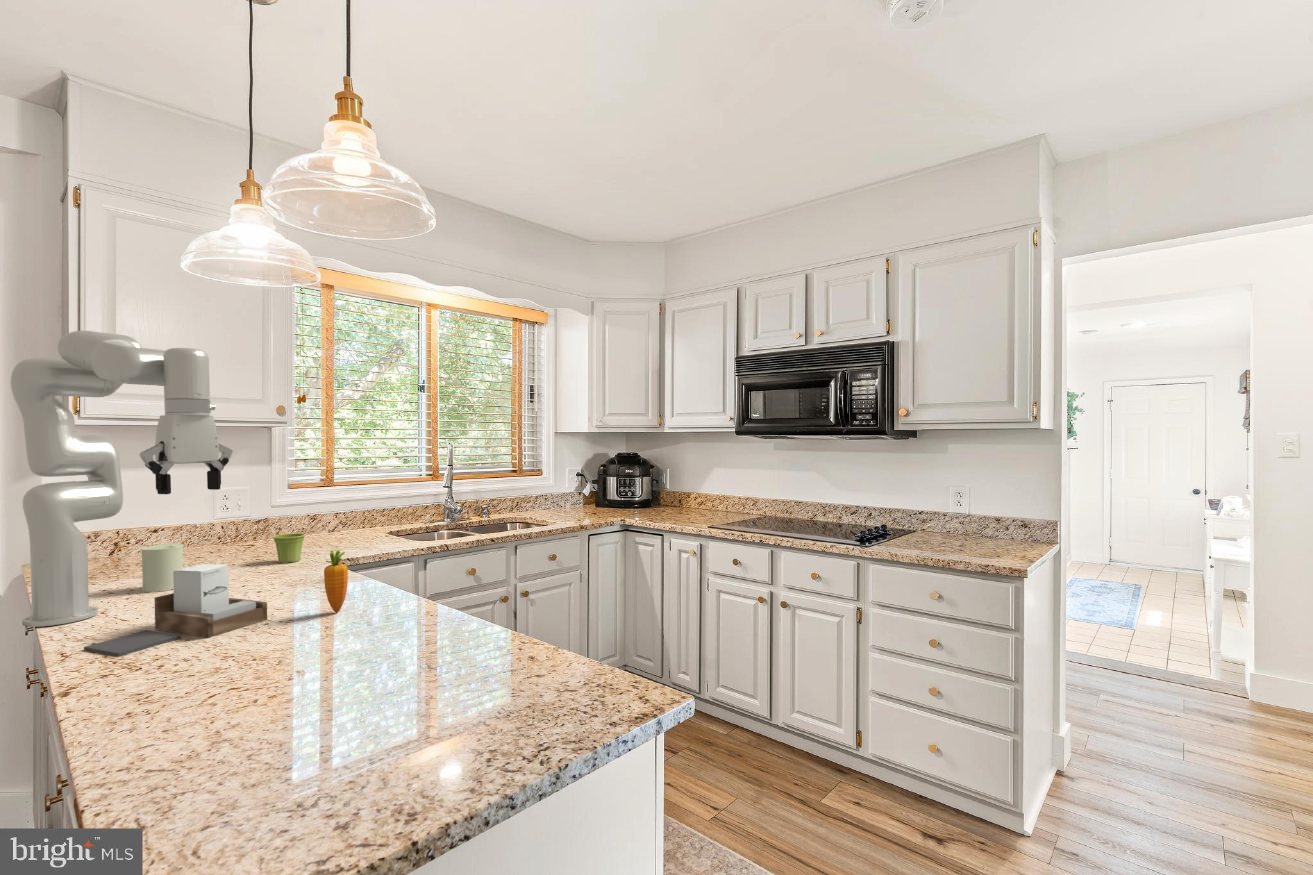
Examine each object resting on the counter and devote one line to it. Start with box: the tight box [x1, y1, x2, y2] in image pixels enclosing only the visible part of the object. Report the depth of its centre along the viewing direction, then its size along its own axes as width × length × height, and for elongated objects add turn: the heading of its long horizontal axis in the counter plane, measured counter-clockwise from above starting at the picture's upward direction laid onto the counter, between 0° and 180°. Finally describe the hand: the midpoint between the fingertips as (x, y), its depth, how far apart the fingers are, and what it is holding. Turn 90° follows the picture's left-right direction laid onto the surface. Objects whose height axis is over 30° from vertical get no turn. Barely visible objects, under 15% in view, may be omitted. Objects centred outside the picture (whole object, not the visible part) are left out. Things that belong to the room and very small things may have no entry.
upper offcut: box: [200, 601, 256, 621], centre depth 136 cm, size 4×10×2 cm, turn 160°
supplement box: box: [173, 563, 230, 615], centre depth 139 cm, size 7×7×13 cm
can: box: [141, 543, 184, 593], centre depth 172 cm, size 9×9×12 cm
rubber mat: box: [83, 629, 182, 657], centre depth 126 cm, size 11×11×1 cm
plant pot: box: [272, 533, 306, 564], centre depth 206 cm, size 9×9×9 cm
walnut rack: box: [154, 592, 268, 639], centre depth 138 cm, size 17×13×7 cm
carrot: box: [323, 549, 349, 614], centre depth 146 cm, size 5×5×15 cm
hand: (189, 491), depth 128 cm, fingers open, 9 cm apart
